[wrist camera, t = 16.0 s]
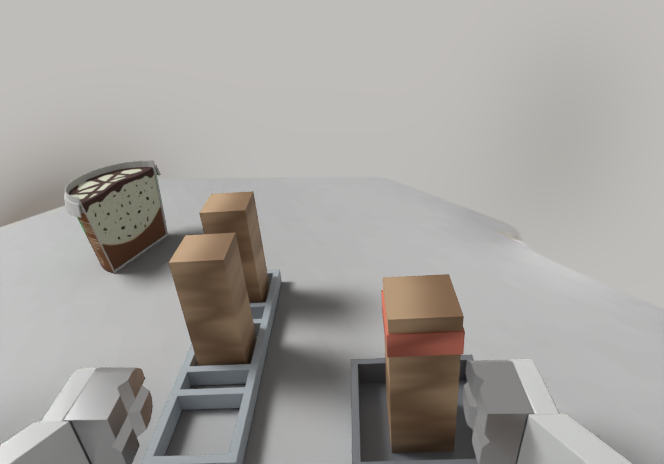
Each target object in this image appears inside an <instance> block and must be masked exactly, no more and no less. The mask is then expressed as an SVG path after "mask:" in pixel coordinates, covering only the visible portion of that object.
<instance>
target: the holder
mask: <svg viewBox="0 0 664 464" xmlns="http://www.w3.org/2000/svg"><path fill="white" fill-rule="evenodd" d="M267 274H268V280H269V285H270V288H269V292H268V296H267V300H266V302H264V303H250V308H251V313H252V318H253V323H254V328H255V332H256V336H258V337H257V341H256V345H255V349H254V353H253V357H252V361H251V364H236V365H211V366H198V363H197V359H196V356H195V353H194V349H193V346H192V344H191V346H190V349H189V351H188V353H187V356H186V358H185V361H184V363H183V365H182V368H181V370H180V372H179V375H178V377H177V379H176V382H175V384H174V387H173V389H172V391H171V394H170V396H169V398H168V401H167V403H166V406H165V408H164V410H163V413H162V415H161V417H160V420H159V422H158V425H157V427H156V429H155V432H154V434H153V436H152V439H151V441H150V444H149V446H148V448H147V451H146V453H145V455H144V458H143V460H142V462H141V464H243V461H244V456H245V451H246V446H247V442H248V437H249V432H250V428H251V423H252V418H253V413H254V409H255V404H256V399H257V395H258V390H259V385H260V380H261V376H262V371H263V366H264V362H265V357H266V352H267V347H268V343H269V338H270V333H271V329H272V324H273V319H274V314H275V310H276V305H277V300H278V296H279V291H280V286H281V275H280V270H267ZM221 384H246V386H245V387H237V388H210V389H190V387H191V386H194V385H221ZM222 408H240V410H239V414H238V418H237V422H236V426H235V430H234V434H233V438H232V442H231V447H230V451H229V454H218V455H183V456H165V453H166V451H167V448H168V445H169V443H170V440H171V438H172V435H173V432H174V430H175V427H176V424H177V422H178V419H179V416H180V414H181V411H182V410H193V409H222Z"/></svg>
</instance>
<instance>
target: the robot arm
mask: <svg viewBox="0 0 664 464" xmlns="http://www.w3.org/2000/svg"><path fill="white" fill-rule="evenodd" d="M465 373H466V376H467V380H468V382H467V383H466V384H465V385H464V388H463V408H464V413H465V418H466V422H467V425H468V426H469V427H470V428H471V429H472V430H473V436H472V444H473V448H474V451H475V455H476V458H477V462H478V464H632V463H631V462H630V461H628V460H627V459H626V458H624V457H623V456H622V455H620V454H619V453H618V452H616V451H615V450H614V449H612V448H611V447H610V446H608V445H607V444H606V443H604V442H603V441H602V440H600V439H599V438H598V437H596V436H595V435H594V434H592V433H591V432H590V431H588V430H587V429H586V428H584V427H583V426H582V425H580V424H579V423H578V422H576V421H575V420H574V419H572V418H571V417H570V416H568V415H567V414H560V413H559V411H558V409H557V407H556V405H555V403H554V401H553V399H552V397H551V395H550V393H549V391H548V389H547V387H546V385H545V383H544V381H543V379H542V377H541V375H540V373H539V371H538V369H537V367H536V365H535V363H534V361H532V360H531V359H516V360H482V361H468V363H467V365H466V372H465ZM144 380H145V377H144V374H143V372H142V369H140V368H79V369H78V370H76V371H75V372H74V373H73V374H72V376H71V377H70V379H69V380H68V382H67V383H66V385H65V386H64V388H63V389H62V391H61V392H60V394H59V395H58V397H57V398H56V400H55V401H54V403H53V404H52V406H51V407H50V409H49V410H48V412H47V413H46V415H45V416H44V418H43V419H42V420H41V422H34V423H32V424H31V425H29V426H28V427H26V428H25V429H23V430H22V431H21V432H19V433H18V434H16V435H15V436H13V437H12V438H10V439H9V440H7V441H6V442H4V443H3V444H1V445H0V464H132V462H133V460H134V457H135V455H136V453H137V450H138V448H139V446H140V445H139V442H138V439H137V437H138V436H139V435H140V434H142V433H143V432H144V431H145V430H146V429H147V427H148V424H149V422H150V419H151V414H152V407H153V406H152V397H151V394H150V391H149V390H148V389H146V388H145V387H144V386H142V384H143V382H144Z"/></svg>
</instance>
